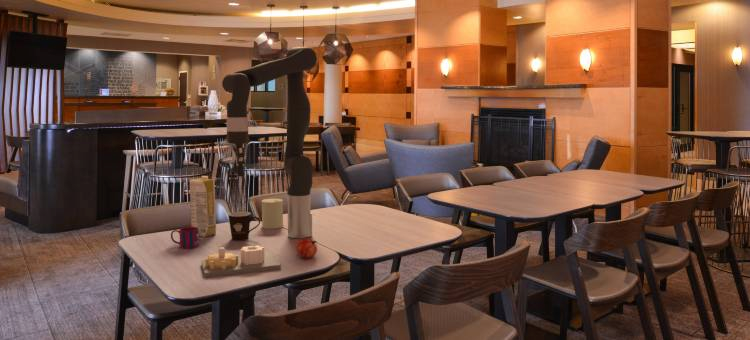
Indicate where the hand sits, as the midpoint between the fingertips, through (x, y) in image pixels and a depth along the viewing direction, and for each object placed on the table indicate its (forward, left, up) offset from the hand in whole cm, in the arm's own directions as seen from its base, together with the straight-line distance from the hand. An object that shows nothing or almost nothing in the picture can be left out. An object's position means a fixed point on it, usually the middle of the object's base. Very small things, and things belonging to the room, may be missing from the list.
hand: (238, 174), depth 201 cm
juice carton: (+11, -28, -28) cm, 41 cm away
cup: (+19, -12, -28) cm, 36 cm away
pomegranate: (-20, +18, -28) cm, 39 cm away
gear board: (+3, +21, -28) cm, 35 cm away
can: (-18, -32, -28) cm, 46 cm away
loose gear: (-1, +21, -27) cm, 34 cm away
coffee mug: (-3, -15, -28) cm, 32 cm away
